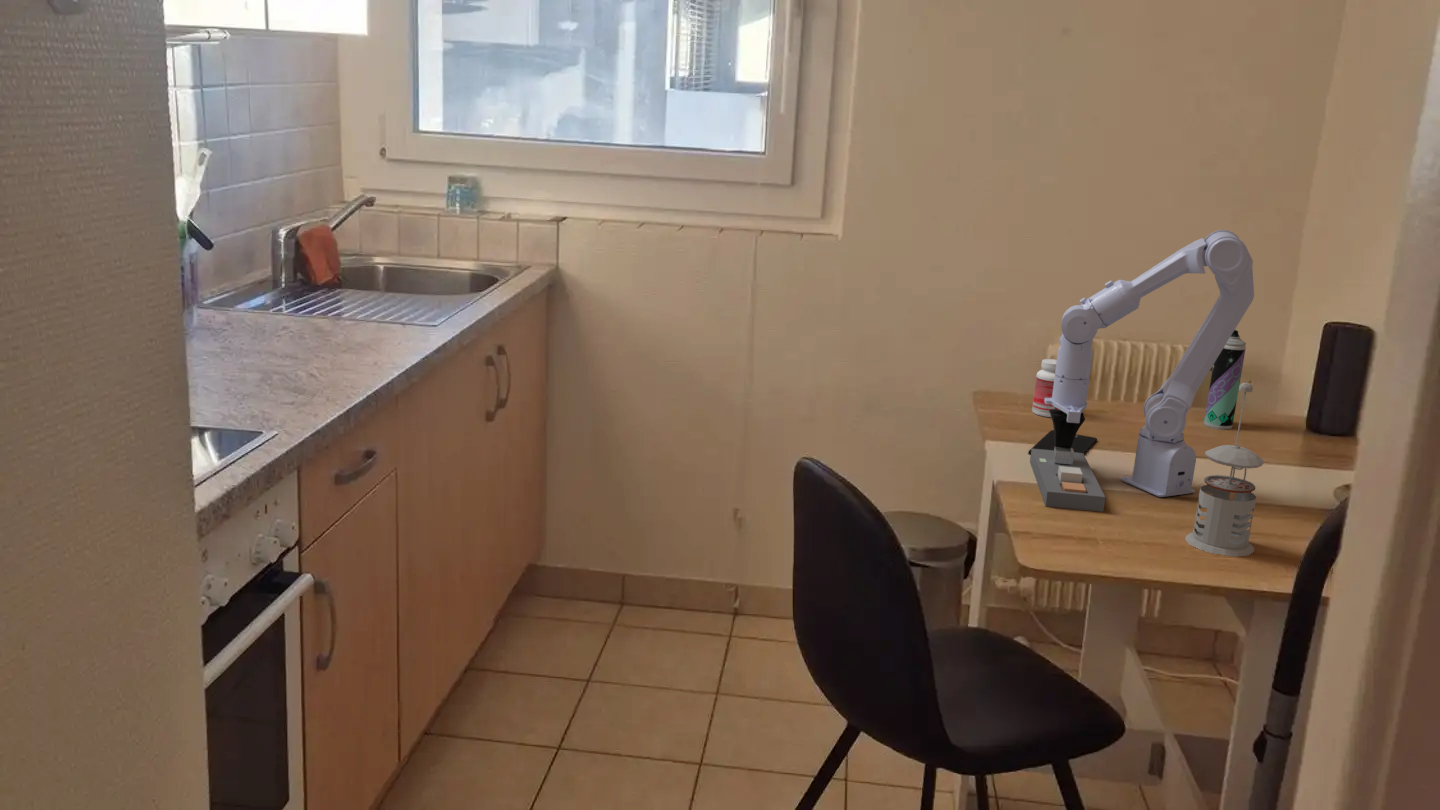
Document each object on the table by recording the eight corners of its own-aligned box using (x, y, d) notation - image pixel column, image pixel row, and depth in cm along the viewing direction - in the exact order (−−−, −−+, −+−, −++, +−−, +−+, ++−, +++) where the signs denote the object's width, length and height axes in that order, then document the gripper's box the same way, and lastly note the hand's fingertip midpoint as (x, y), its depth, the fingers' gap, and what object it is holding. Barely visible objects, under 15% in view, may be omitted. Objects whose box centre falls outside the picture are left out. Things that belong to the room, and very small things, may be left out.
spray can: (1197, 423, 256) (1213, 327, 251) (1217, 421, 258) (1233, 326, 253) (1218, 430, 251) (1234, 332, 246) (1238, 428, 253) (1254, 331, 248)
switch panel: (1103, 511, 199) (1105, 496, 198) (1045, 506, 200) (1047, 490, 199) (1081, 466, 222) (1083, 452, 221) (1029, 461, 223) (1031, 448, 222)
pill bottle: (1062, 419, 253) (1069, 366, 250) (1031, 415, 254) (1037, 362, 251) (1062, 412, 258) (1069, 360, 255) (1032, 408, 260) (1038, 356, 257)
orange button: (1084, 504, 200) (1086, 490, 200) (1062, 502, 201) (1064, 488, 200) (1081, 497, 204) (1083, 483, 203) (1059, 495, 204) (1061, 481, 203)
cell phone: (1097, 442, 239) (1097, 437, 239) (1076, 465, 224) (1076, 460, 223) (1051, 434, 243) (1051, 429, 243) (1027, 456, 228) (1027, 451, 227)
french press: (1177, 544, 186) (1203, 382, 180) (1196, 524, 196) (1222, 369, 189) (1246, 561, 181) (1276, 395, 175) (1263, 539, 191) (1291, 381, 184)
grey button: (1080, 488, 205) (1082, 474, 204) (1059, 486, 205) (1061, 472, 205) (1077, 481, 208) (1079, 468, 208) (1057, 479, 209) (1058, 466, 208)
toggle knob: (1072, 464, 214) (1074, 452, 213) (1054, 462, 214) (1056, 450, 213) (1070, 460, 216) (1072, 448, 215) (1052, 458, 216) (1054, 446, 216)
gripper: (1043, 364, 220) (1033, 438, 224) (1053, 384, 207) (1043, 462, 210) (1084, 367, 220) (1074, 441, 223) (1097, 387, 206) (1086, 466, 209)
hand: (1062, 452), depth 217 cm, fingers closed
